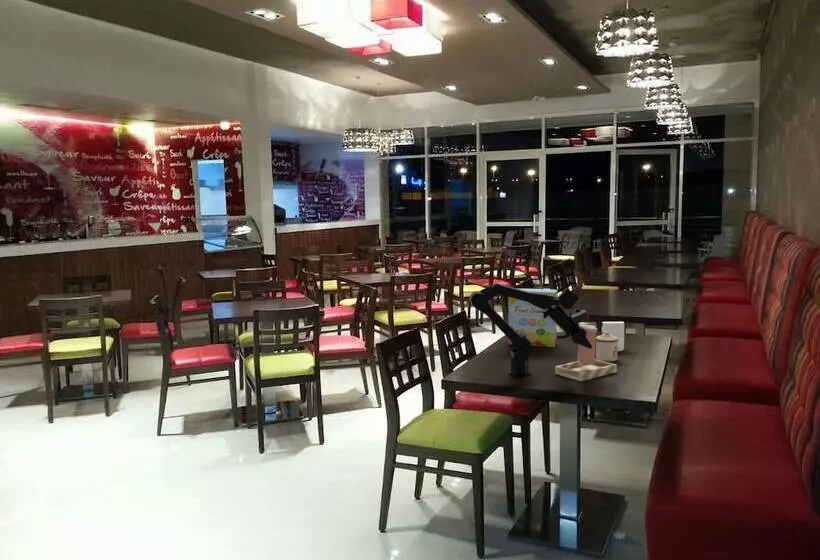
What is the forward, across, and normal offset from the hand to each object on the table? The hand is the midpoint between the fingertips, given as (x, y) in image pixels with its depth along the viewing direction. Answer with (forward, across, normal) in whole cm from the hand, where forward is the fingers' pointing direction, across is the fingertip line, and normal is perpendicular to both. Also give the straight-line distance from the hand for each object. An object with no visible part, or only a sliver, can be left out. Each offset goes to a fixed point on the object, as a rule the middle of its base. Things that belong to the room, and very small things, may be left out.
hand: (589, 345), depth 259 cm
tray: (+7, 0, +8) cm, 11 cm away
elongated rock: (+11, +79, +5) cm, 80 cm away
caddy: (+4, 0, +6) cm, 7 cm away
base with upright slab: (+21, +38, -6) cm, 44 cm away
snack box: (-3, +49, +18) cm, 53 cm away
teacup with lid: (+16, +22, -1) cm, 28 cm away
